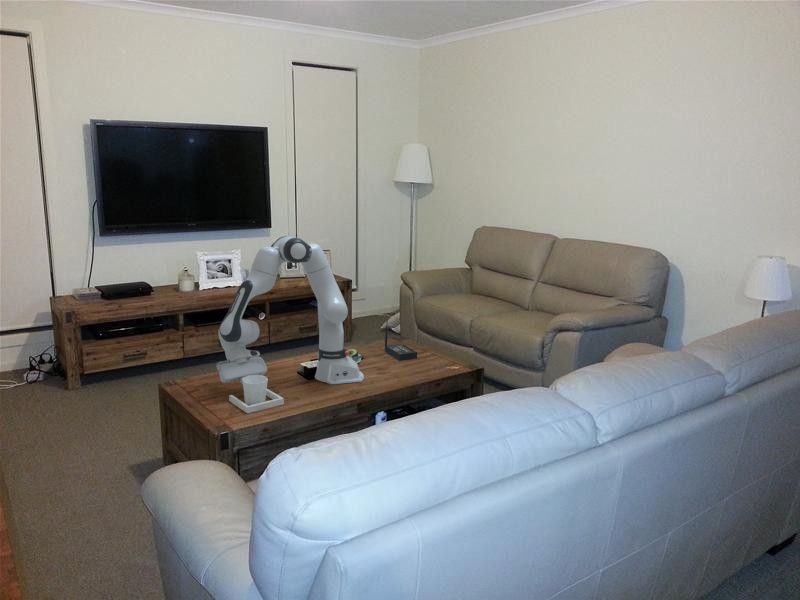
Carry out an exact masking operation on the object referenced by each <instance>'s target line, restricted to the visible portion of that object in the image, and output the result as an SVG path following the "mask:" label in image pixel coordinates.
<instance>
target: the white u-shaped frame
mask: <svg viewBox="0 0 800 600" xmlns="http://www.w3.org/2000/svg"><path fill="white" fill-rule="evenodd" d="M228 396H229V397H228V400H229V402H230V403H232V405H235V406H236V407H238V408H239V409H240V410H242V411H243V412H245V413H246V414H250V413H251V414H252V413H255V412H259V411H263V410H266V409H271V408H275V407H279V406H281V405H284V404H285V398H284V397H282V396H281V395H279V394H277V393H275V392H274V391H272V390H271V389H269V388H267V389H266V397H268V398H270V399H271V400H265V402H262V403H258V404H254V405H248V404H245V401H244V402H243V401H242V400H241V399H240V398H238V397H236V396H234V395H233V394H230V395H228Z"/></svg>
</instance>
